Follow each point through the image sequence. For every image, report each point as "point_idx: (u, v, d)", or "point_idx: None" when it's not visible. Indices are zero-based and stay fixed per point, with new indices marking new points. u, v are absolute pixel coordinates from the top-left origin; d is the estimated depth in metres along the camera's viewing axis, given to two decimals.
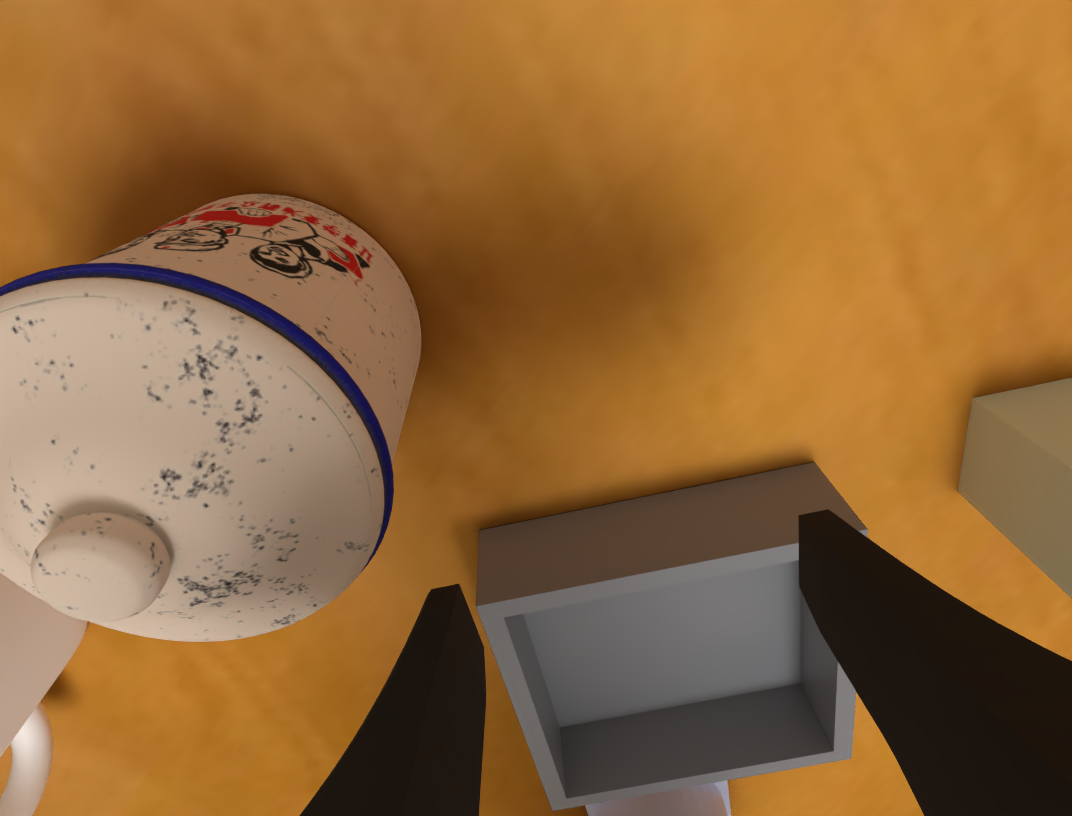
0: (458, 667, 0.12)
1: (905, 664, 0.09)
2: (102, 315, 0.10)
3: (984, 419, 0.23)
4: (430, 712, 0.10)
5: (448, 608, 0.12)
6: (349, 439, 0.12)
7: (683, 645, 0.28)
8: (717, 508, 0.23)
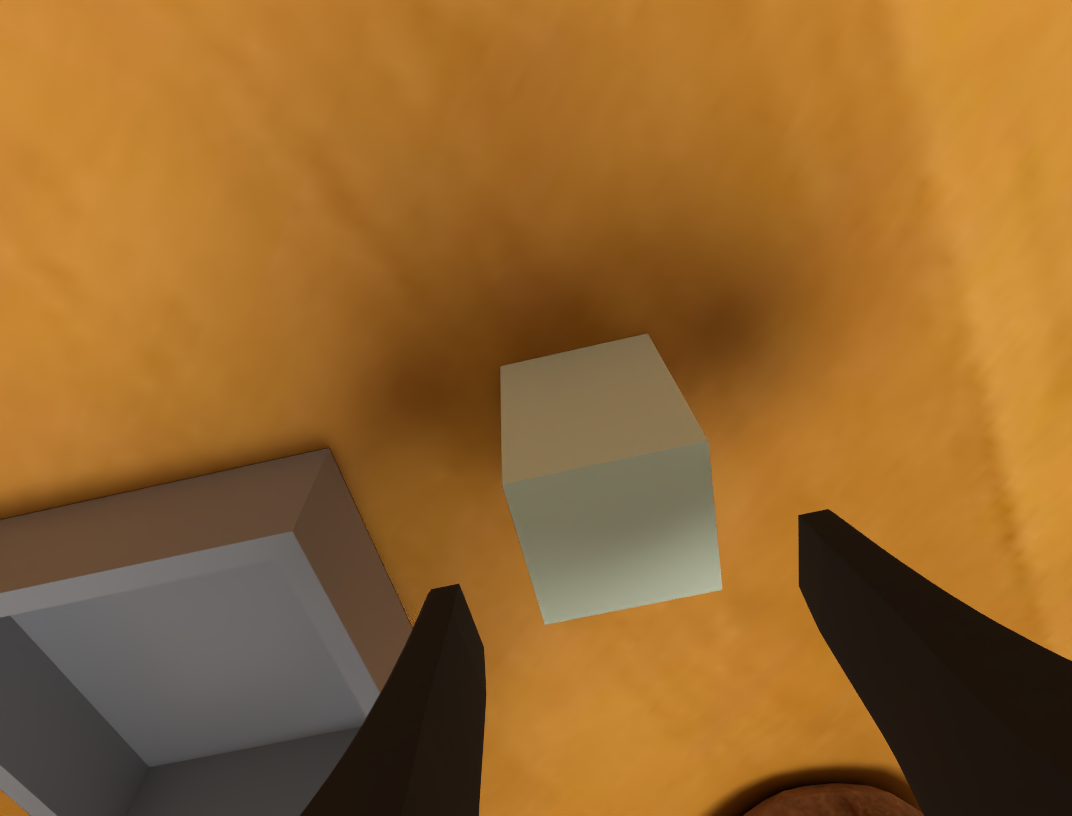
0: (458, 667, 0.12)
1: (905, 664, 0.09)
2: None
3: None
4: (430, 712, 0.10)
5: (448, 608, 0.12)
6: None
7: (253, 671, 0.23)
8: (178, 505, 0.18)
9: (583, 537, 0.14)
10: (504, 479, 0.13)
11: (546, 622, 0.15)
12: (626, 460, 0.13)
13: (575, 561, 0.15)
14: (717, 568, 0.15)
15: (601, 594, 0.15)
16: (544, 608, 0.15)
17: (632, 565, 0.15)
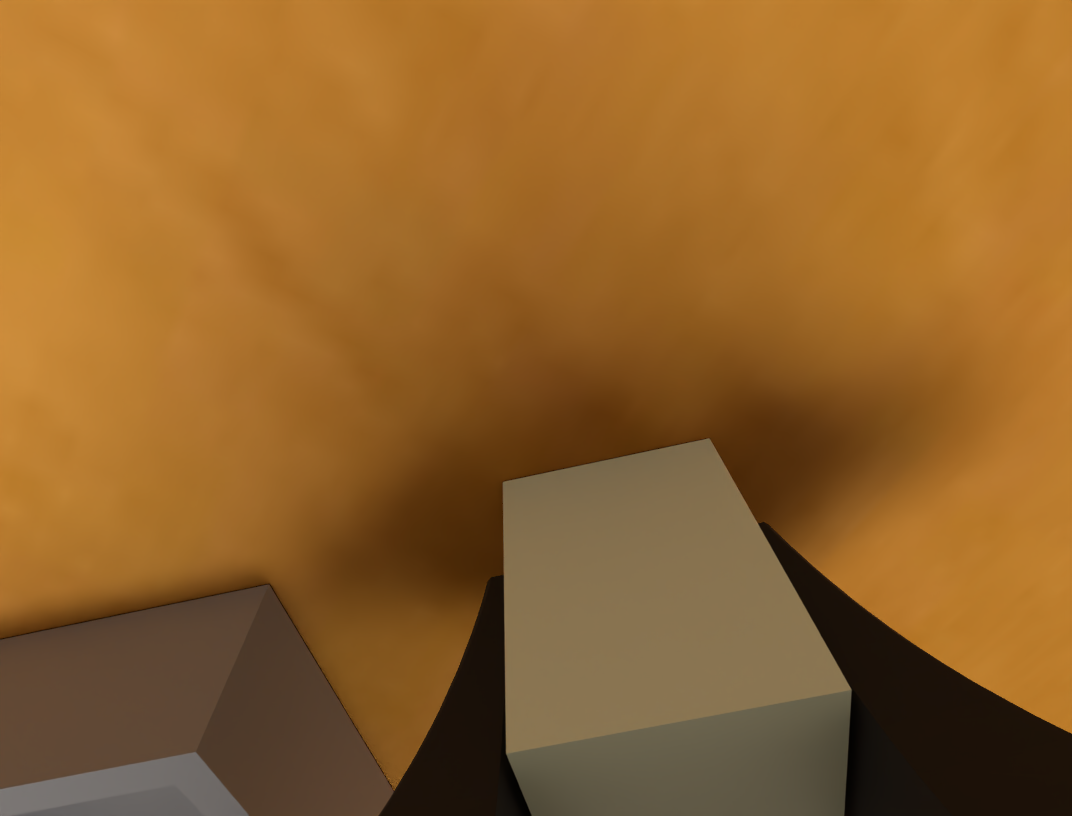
0: None
1: None
2: None
3: None
4: None
5: None
6: None
7: None
8: (55, 675, 0.13)
9: (636, 811, 0.09)
10: (509, 741, 0.08)
11: None
12: (713, 718, 0.08)
13: None
14: None
15: None
16: None
17: None
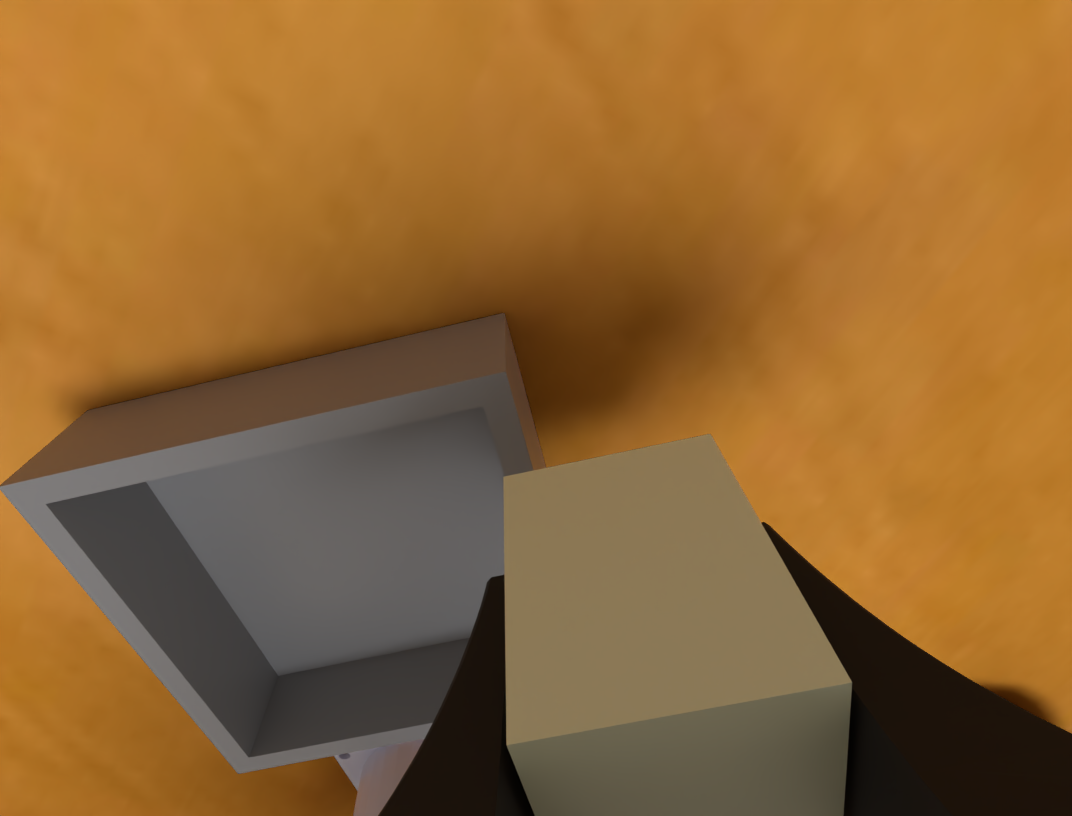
0: None
1: None
2: None
3: None
4: None
5: None
6: None
7: (398, 568, 0.23)
8: (357, 366, 0.18)
9: (636, 803, 0.09)
10: (509, 733, 0.08)
11: None
12: (714, 710, 0.08)
13: None
14: None
15: None
16: None
17: None
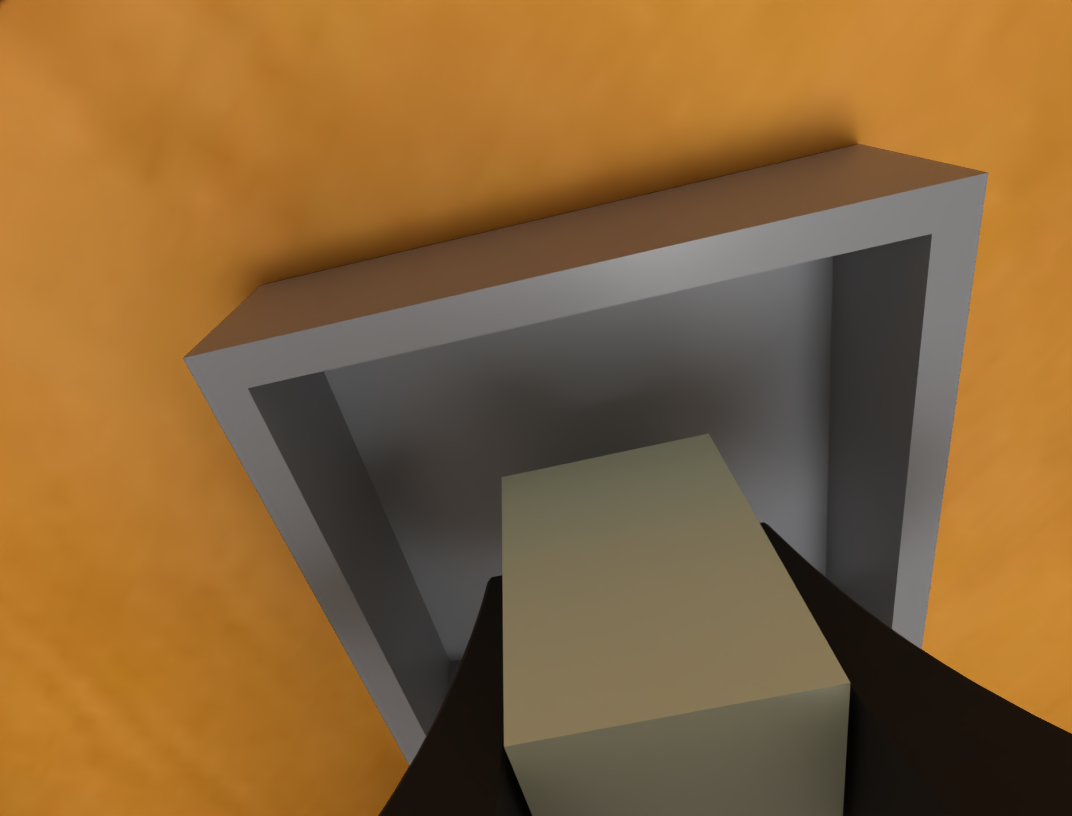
0: None
1: None
2: None
3: None
4: None
5: None
6: None
7: None
8: (679, 204, 0.12)
9: (633, 805, 0.09)
10: (507, 734, 0.08)
11: None
12: (711, 711, 0.08)
13: None
14: None
15: None
16: None
17: None
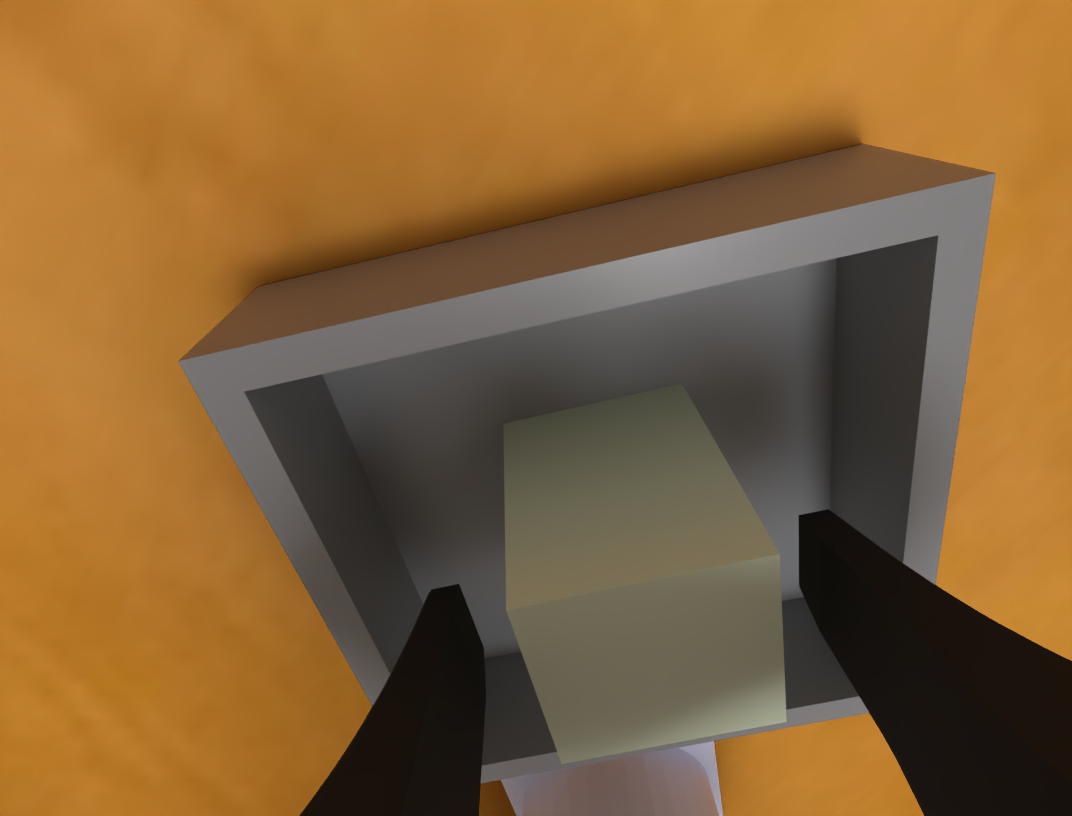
0: (458, 667, 0.12)
1: (905, 664, 0.09)
2: None
3: None
4: (430, 712, 0.10)
5: (448, 608, 0.12)
6: None
7: None
8: (681, 205, 0.12)
9: (612, 667, 0.11)
10: (508, 602, 0.10)
11: (563, 761, 0.12)
12: (670, 579, 0.10)
13: (601, 695, 0.11)
14: (782, 698, 0.12)
15: (633, 729, 0.12)
16: (561, 746, 0.12)
17: (673, 697, 0.11)
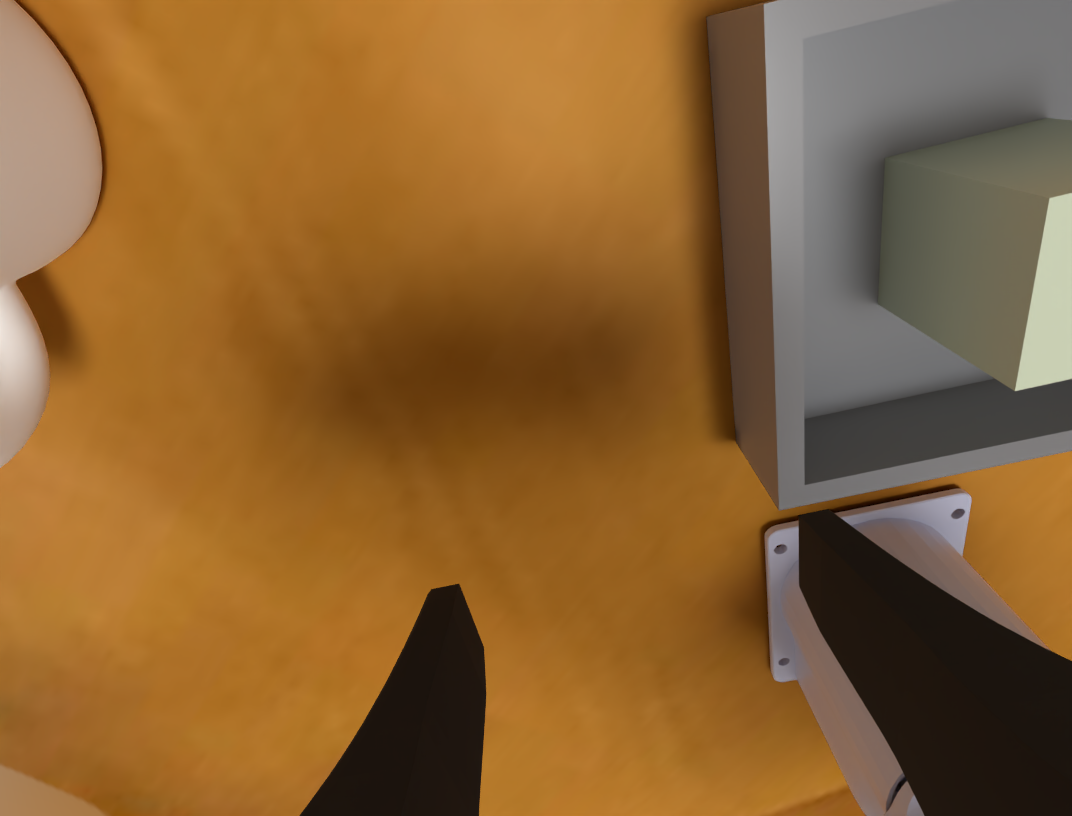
0: (458, 667, 0.12)
1: (905, 664, 0.09)
2: None
3: (900, 180, 0.17)
4: (430, 712, 0.10)
5: (448, 608, 0.12)
6: None
7: None
8: None
9: None
10: (1045, 196, 0.12)
11: (1017, 388, 0.14)
12: None
13: None
14: None
15: None
16: (1023, 368, 0.14)
17: None
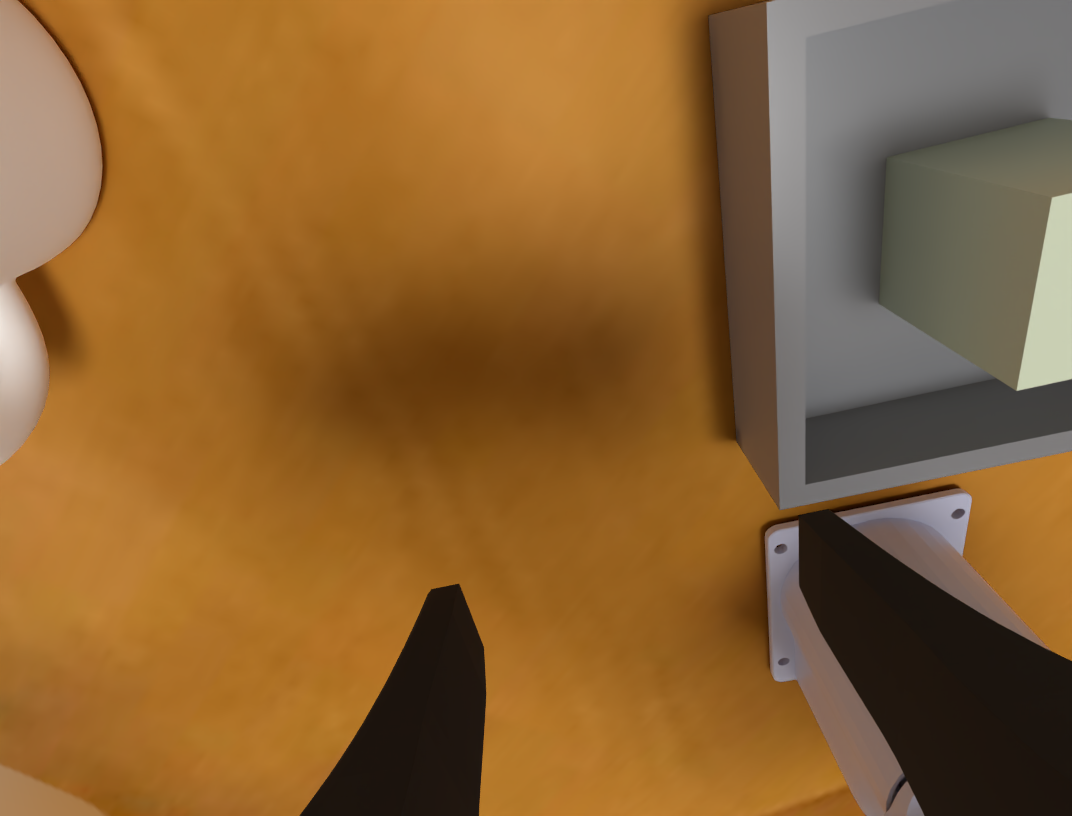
0: (458, 667, 0.12)
1: (905, 664, 0.09)
2: None
3: (901, 179, 0.17)
4: (430, 712, 0.10)
5: (448, 608, 0.12)
6: None
7: None
8: None
9: None
10: (1048, 195, 0.12)
11: (1018, 387, 0.14)
12: None
13: None
14: None
15: None
16: (1025, 368, 0.14)
17: None
